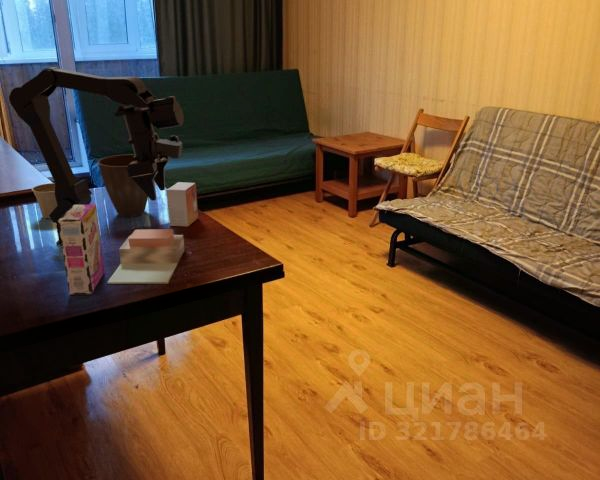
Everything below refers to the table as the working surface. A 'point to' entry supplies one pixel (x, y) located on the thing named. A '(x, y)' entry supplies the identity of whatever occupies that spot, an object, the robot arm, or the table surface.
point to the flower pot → (45, 198)
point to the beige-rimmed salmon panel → (151, 238)
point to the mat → (143, 273)
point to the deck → (153, 252)
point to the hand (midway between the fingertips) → (158, 195)
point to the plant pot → (122, 186)
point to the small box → (182, 204)
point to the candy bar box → (81, 248)
